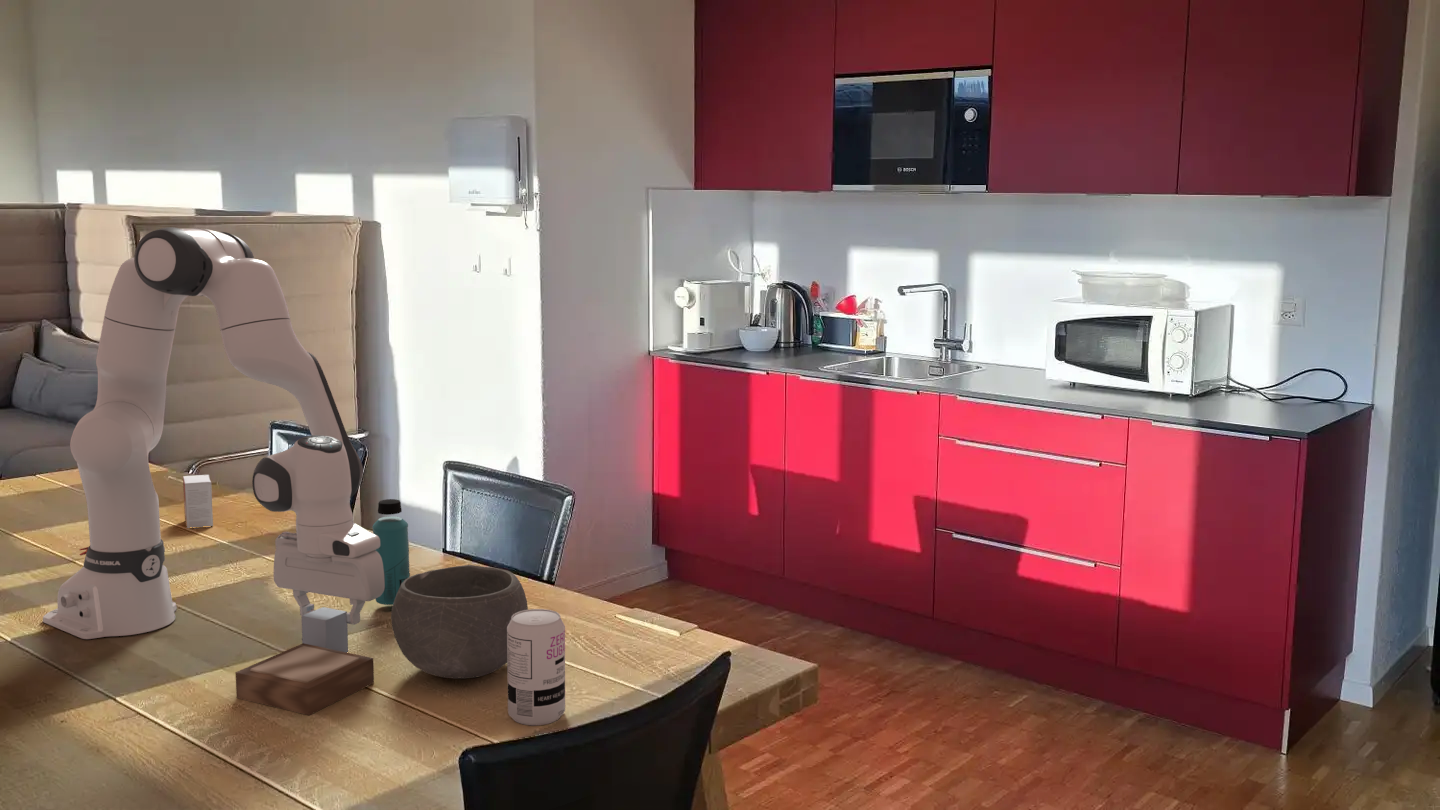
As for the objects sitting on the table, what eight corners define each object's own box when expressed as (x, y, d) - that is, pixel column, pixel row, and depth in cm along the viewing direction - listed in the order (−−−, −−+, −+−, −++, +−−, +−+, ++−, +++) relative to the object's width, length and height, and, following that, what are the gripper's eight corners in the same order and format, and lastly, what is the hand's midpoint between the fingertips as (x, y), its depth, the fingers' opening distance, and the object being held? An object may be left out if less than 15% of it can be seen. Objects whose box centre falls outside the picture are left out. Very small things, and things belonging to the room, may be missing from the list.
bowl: (463, 708, 187) (462, 610, 184) (363, 678, 198) (361, 585, 195) (555, 665, 204) (555, 575, 202) (459, 639, 215) (457, 554, 213)
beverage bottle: (401, 614, 228) (399, 505, 224) (367, 611, 229) (364, 503, 226) (417, 603, 234) (415, 497, 231) (383, 600, 235) (381, 495, 232)
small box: (184, 521, 289) (182, 475, 287) (211, 518, 291) (209, 473, 289) (186, 529, 281) (183, 483, 280) (213, 527, 284) (211, 481, 282)
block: (302, 657, 206) (301, 615, 205) (324, 647, 211) (323, 607, 210) (326, 662, 204) (325, 620, 203) (348, 652, 209) (346, 611, 207)
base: (236, 697, 189) (235, 670, 188) (304, 667, 202) (303, 641, 201) (309, 715, 183) (308, 687, 183) (373, 682, 196) (373, 656, 195)
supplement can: (510, 705, 188) (509, 607, 186) (566, 704, 189) (565, 607, 187) (505, 727, 180) (504, 626, 178) (564, 726, 181) (563, 625, 179)
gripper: (261, 535, 206) (266, 616, 208) (362, 548, 198) (366, 633, 200) (289, 525, 212) (294, 605, 214) (388, 538, 203) (392, 621, 206)
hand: (330, 619), depth 207 cm, fingers open, 8 cm apart
